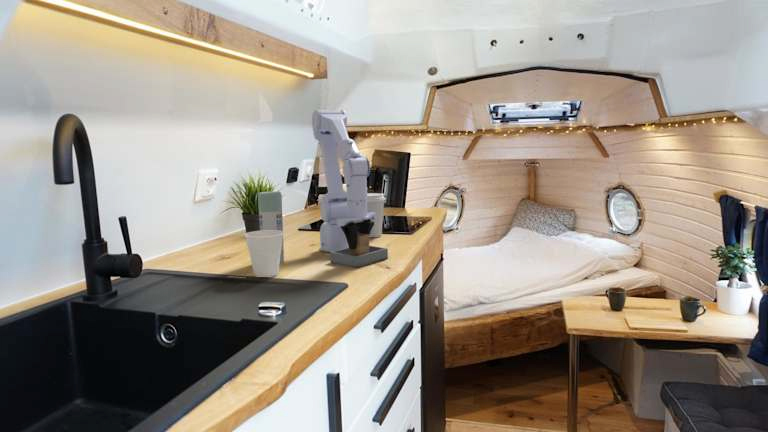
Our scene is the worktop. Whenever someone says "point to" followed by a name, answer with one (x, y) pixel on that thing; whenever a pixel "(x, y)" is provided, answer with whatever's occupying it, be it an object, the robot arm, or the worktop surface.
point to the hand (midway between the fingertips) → (358, 247)
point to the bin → (359, 257)
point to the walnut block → (361, 245)
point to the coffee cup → (376, 206)
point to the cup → (265, 251)
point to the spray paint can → (271, 214)
